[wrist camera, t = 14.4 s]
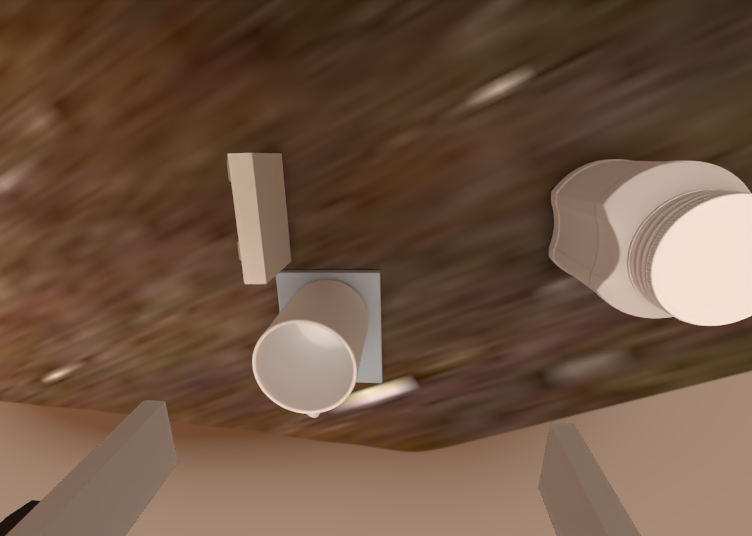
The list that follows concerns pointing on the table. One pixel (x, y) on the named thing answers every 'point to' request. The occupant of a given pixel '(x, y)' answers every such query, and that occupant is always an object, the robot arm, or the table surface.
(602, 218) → the jar
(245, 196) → the beige block
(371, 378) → the plate
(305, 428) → the table surface
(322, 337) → the mug
